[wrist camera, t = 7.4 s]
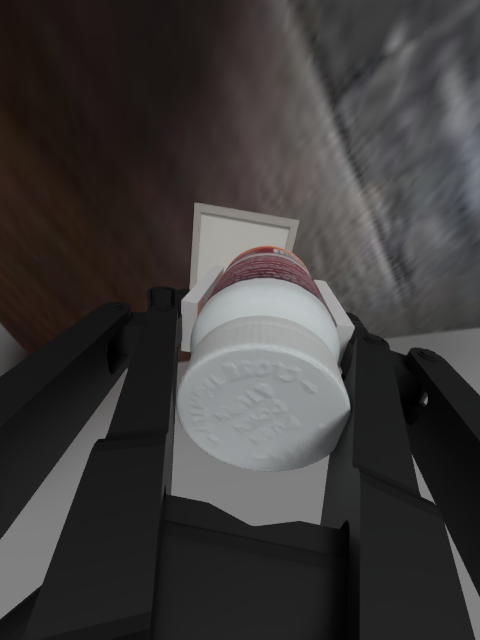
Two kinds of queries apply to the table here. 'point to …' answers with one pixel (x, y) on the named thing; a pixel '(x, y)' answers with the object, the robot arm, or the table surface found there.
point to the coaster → (233, 236)
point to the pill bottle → (264, 368)
